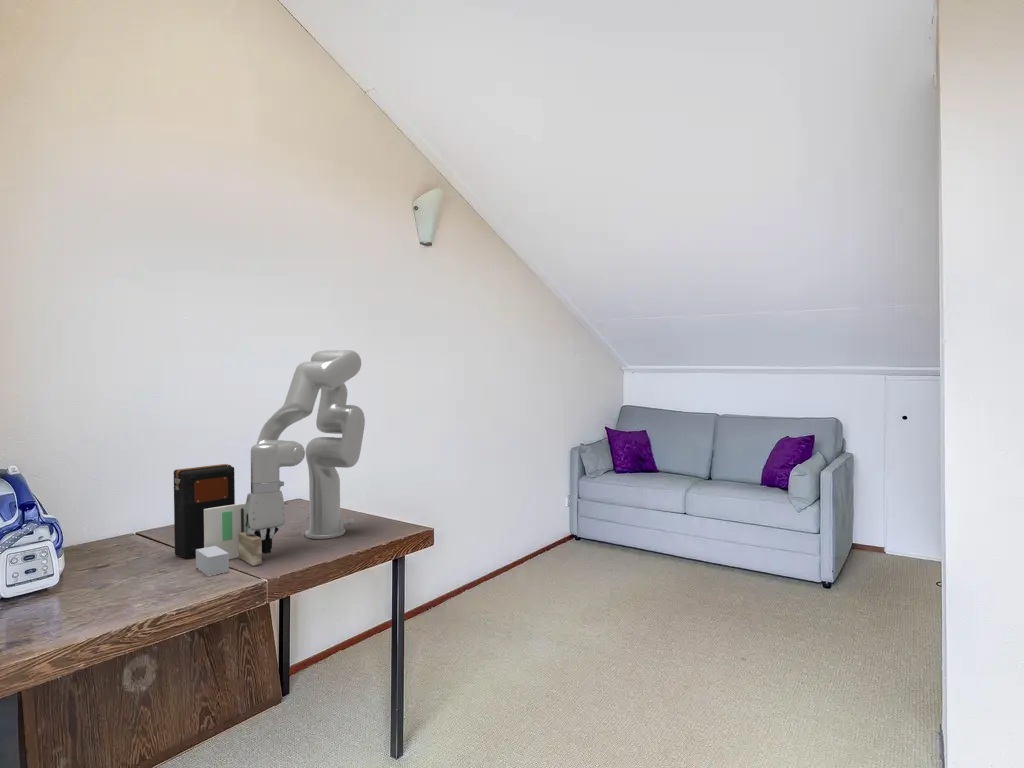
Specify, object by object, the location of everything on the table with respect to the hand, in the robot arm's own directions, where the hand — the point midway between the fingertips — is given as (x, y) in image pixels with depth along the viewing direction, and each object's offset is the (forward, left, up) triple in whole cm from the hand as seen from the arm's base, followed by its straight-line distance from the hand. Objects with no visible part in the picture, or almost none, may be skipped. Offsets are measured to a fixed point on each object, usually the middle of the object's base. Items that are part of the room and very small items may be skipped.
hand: (265, 552), depth 170 cm
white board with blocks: (+7, -2, -2) cm, 8 cm away
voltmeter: (+10, -19, -2) cm, 22 cm away
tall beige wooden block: (+4, 0, -2) cm, 5 cm away
